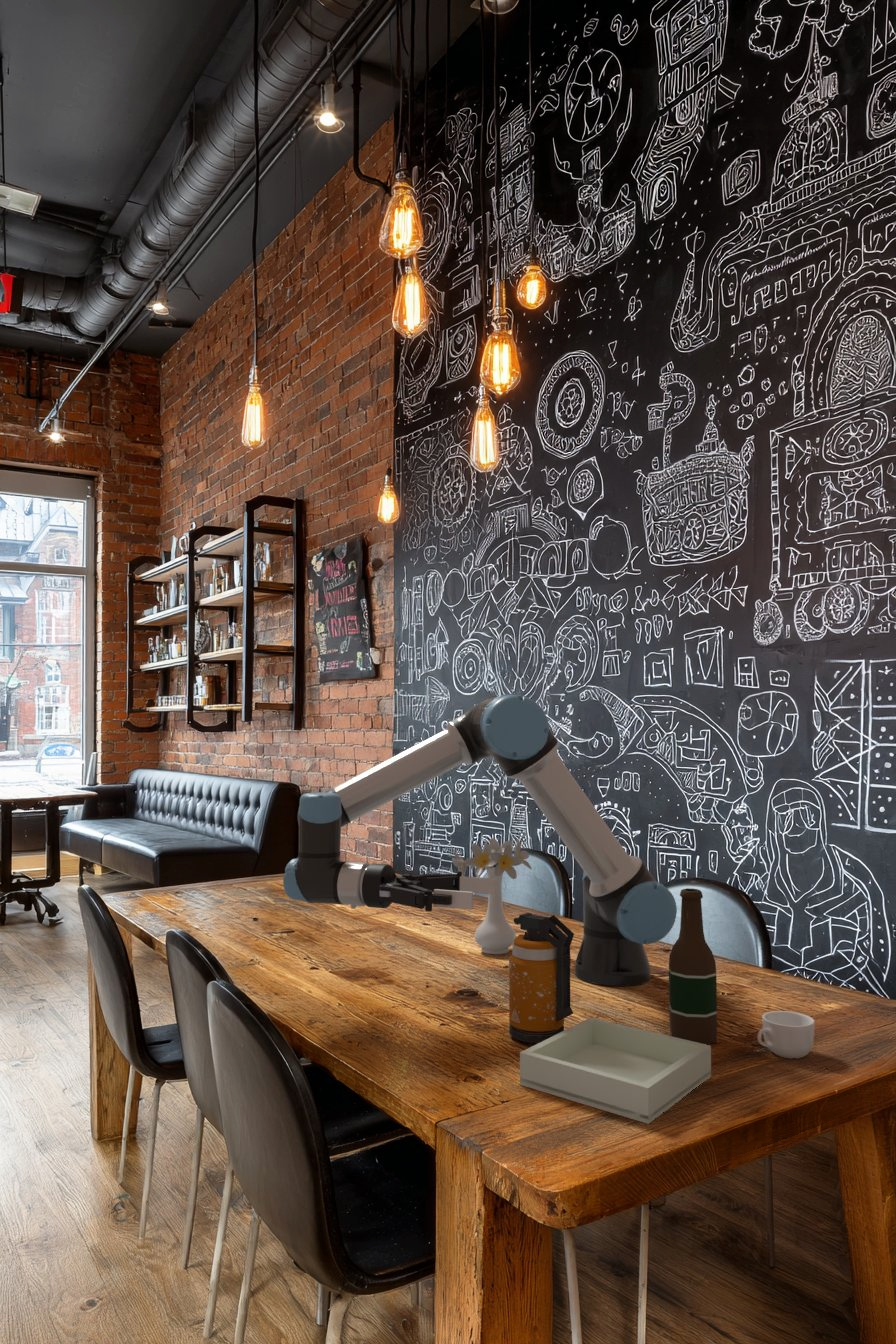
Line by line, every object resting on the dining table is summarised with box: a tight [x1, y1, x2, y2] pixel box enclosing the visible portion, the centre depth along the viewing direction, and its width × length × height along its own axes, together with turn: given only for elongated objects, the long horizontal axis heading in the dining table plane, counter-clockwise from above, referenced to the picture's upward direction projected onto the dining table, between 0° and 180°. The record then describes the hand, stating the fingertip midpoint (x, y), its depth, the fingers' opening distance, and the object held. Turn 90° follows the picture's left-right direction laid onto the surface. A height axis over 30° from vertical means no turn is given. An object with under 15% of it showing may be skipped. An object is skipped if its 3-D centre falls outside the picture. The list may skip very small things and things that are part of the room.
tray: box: [519, 1017, 712, 1125], centre depth 132 cm, size 20×20×4 cm
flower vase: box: [451, 837, 533, 956], centre depth 205 cm, size 13×18×25 cm
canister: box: [508, 912, 575, 1045], centre depth 150 cm, size 9×11×20 cm
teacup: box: [757, 1010, 816, 1059], centre depth 142 cm, size 10×8×5 cm
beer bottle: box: [668, 888, 718, 1045], centre depth 150 cm, size 8×8×24 cm
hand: (484, 893), depth 153 cm, fingers open, 13 cm apart
